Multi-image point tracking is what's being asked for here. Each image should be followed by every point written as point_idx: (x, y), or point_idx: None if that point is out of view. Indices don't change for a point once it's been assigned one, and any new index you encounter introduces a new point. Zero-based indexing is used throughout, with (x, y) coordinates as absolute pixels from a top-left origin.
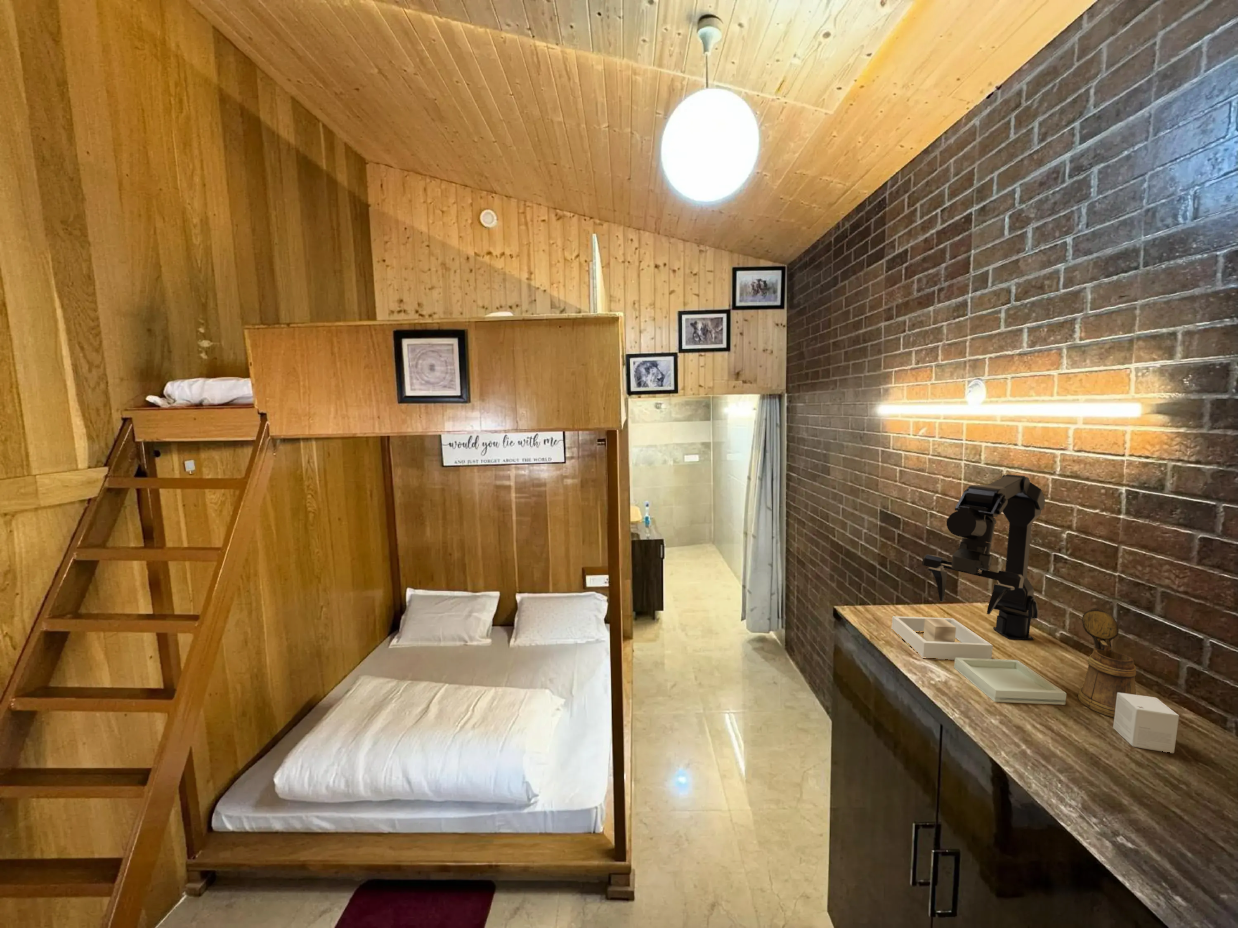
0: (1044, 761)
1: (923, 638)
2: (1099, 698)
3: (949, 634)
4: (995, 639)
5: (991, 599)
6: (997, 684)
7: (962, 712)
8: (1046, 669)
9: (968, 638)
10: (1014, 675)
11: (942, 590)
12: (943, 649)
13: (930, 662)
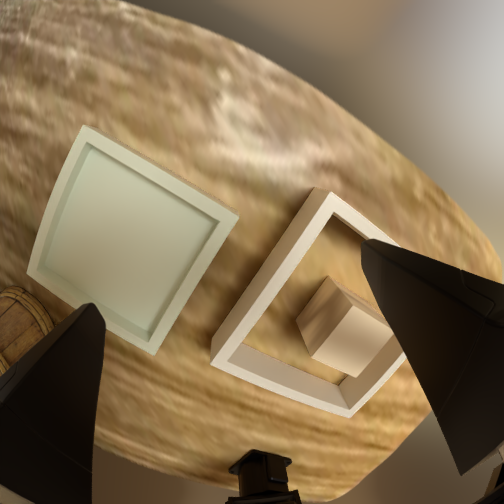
0: (6, 39)
1: (367, 301)
2: (3, 301)
3: (315, 329)
4: (267, 433)
5: (32, 361)
6: (118, 199)
7: (118, 22)
8: (140, 390)
9: (287, 376)
10: (128, 291)
11: (406, 273)
12: (288, 241)
13: (291, 182)
